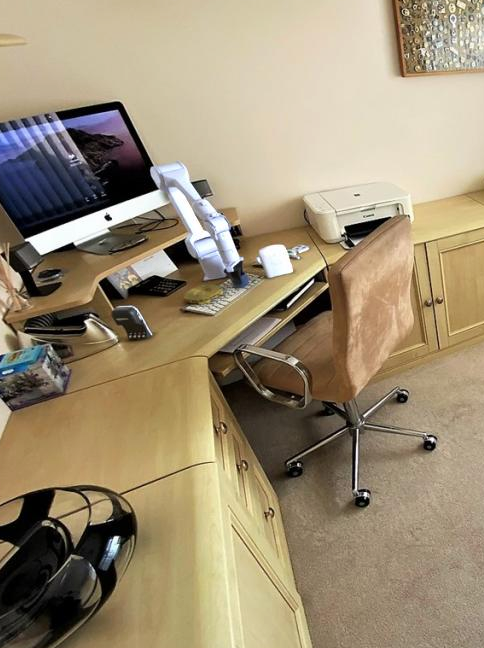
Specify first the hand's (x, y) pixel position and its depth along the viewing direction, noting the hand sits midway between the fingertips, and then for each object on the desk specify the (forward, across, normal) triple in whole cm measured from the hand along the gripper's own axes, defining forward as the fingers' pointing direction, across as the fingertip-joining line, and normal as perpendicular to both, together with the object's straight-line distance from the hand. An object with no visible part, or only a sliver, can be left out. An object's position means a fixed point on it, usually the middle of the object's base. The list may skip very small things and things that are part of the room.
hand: (240, 281), depth 166 cm
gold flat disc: (+2, -5, +12) cm, 13 cm away
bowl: (+2, 0, 0) cm, 2 cm away
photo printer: (+2, +4, -14) cm, 15 cm away
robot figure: (+2, +23, -15) cm, 28 cm away
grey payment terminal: (+2, -28, +27) cm, 39 cm away
